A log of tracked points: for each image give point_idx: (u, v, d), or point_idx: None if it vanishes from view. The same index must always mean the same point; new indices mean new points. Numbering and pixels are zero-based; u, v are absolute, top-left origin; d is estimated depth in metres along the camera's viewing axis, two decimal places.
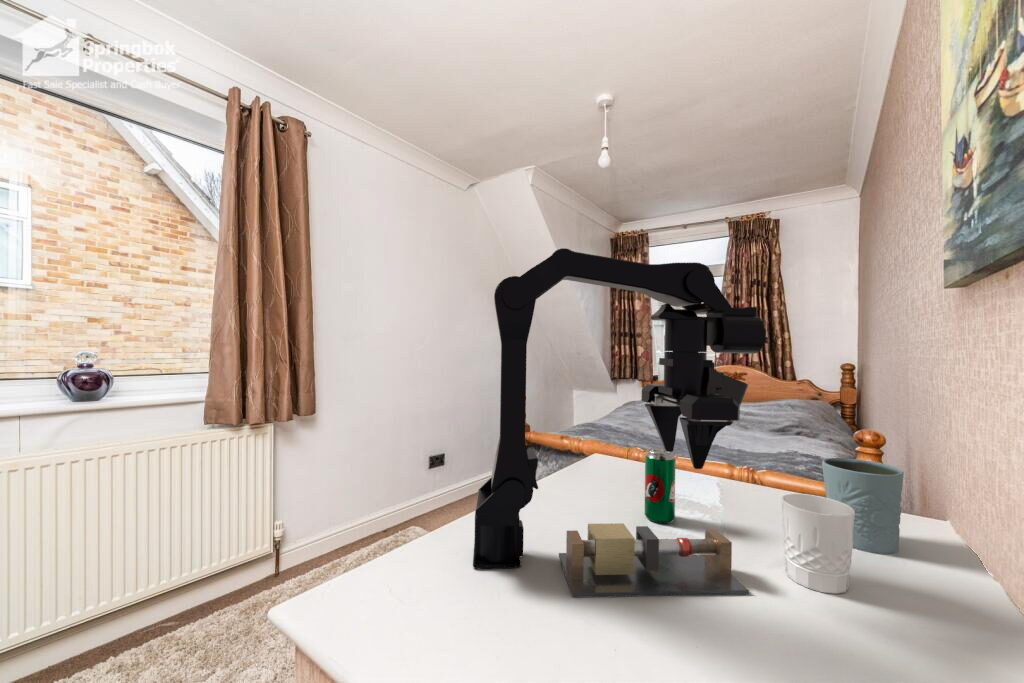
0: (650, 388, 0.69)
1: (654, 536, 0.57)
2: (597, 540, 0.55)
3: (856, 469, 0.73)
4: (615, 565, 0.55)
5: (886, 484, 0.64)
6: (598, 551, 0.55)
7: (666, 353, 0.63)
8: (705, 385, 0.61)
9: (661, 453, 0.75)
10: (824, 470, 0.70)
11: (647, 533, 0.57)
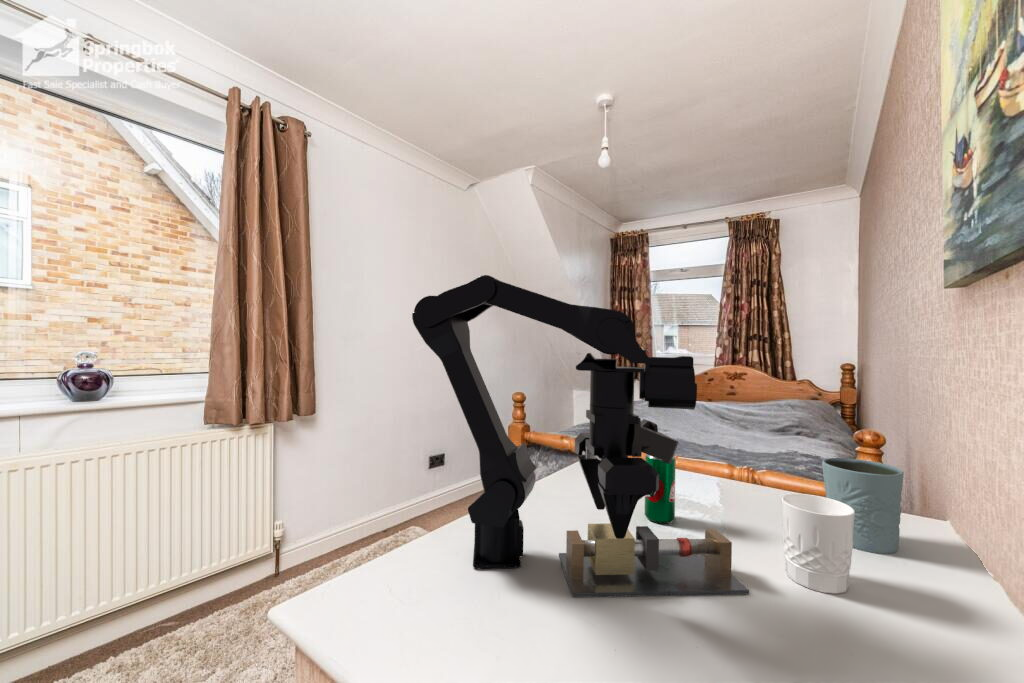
0: (581, 439, 0.64)
1: (654, 536, 0.57)
2: (597, 540, 0.55)
3: (856, 469, 0.73)
4: (615, 565, 0.55)
5: (886, 484, 0.64)
6: (598, 551, 0.55)
7: (590, 407, 0.57)
8: (631, 443, 0.56)
9: None
10: (824, 470, 0.70)
11: (647, 533, 0.57)
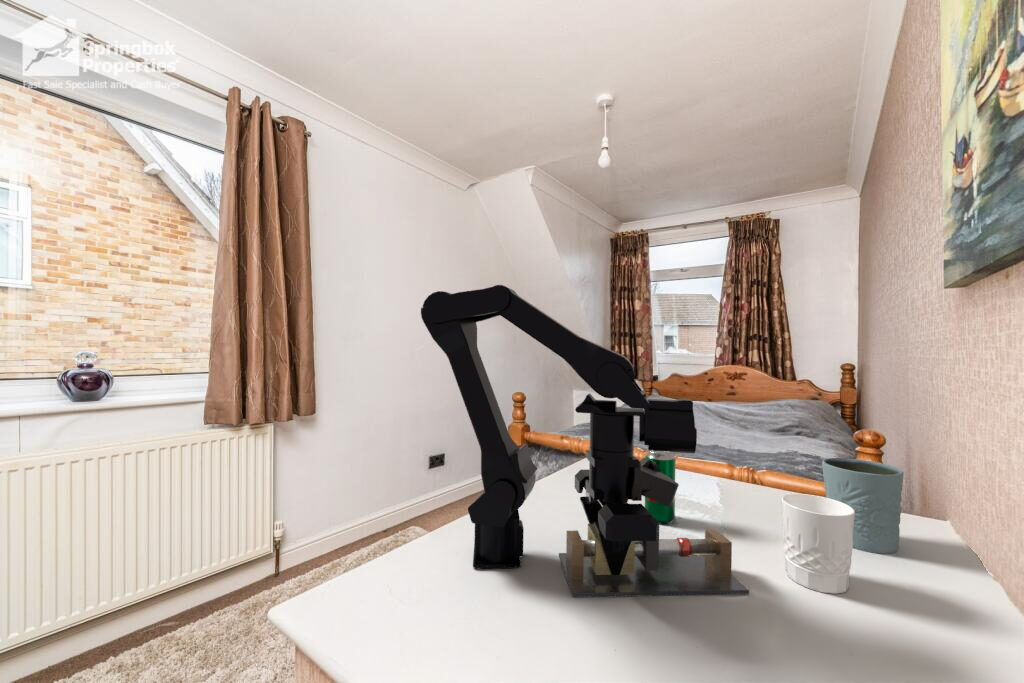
0: (581, 477, 0.63)
1: None
2: (597, 540, 0.55)
3: (856, 469, 0.73)
4: None
5: (886, 484, 0.64)
6: (598, 551, 0.55)
7: (590, 449, 0.57)
8: (631, 486, 0.56)
9: (661, 453, 0.75)
10: (824, 470, 0.70)
11: None
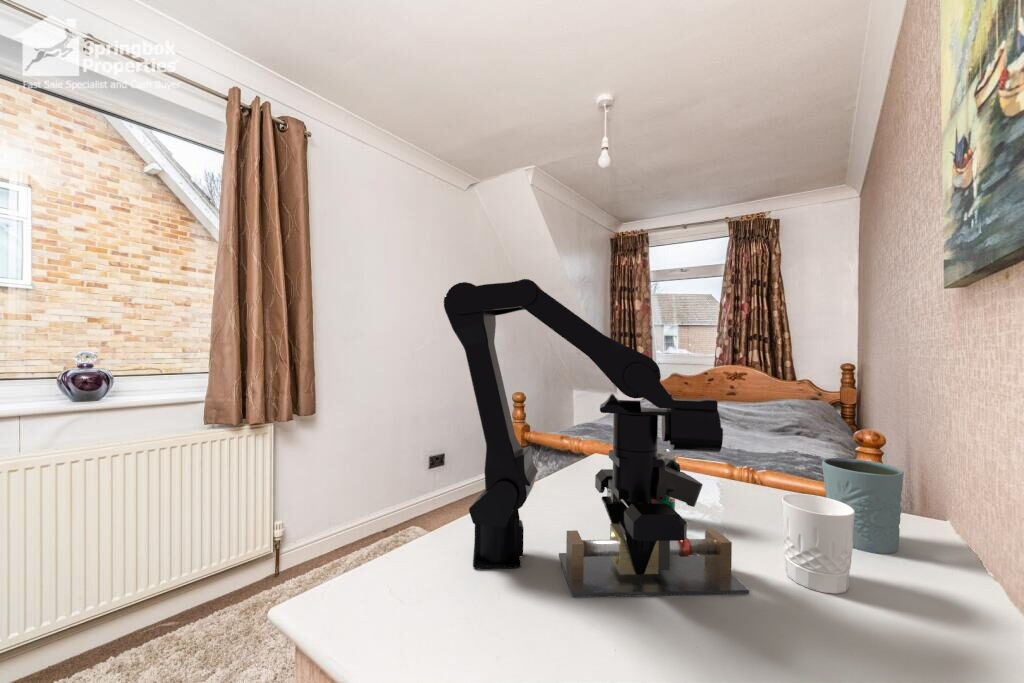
0: (603, 477, 0.64)
1: None
2: (621, 540, 0.55)
3: (856, 469, 0.73)
4: None
5: (886, 484, 0.64)
6: (622, 551, 0.55)
7: (614, 449, 0.57)
8: (655, 486, 0.56)
9: (661, 453, 0.75)
10: (824, 470, 0.70)
11: None
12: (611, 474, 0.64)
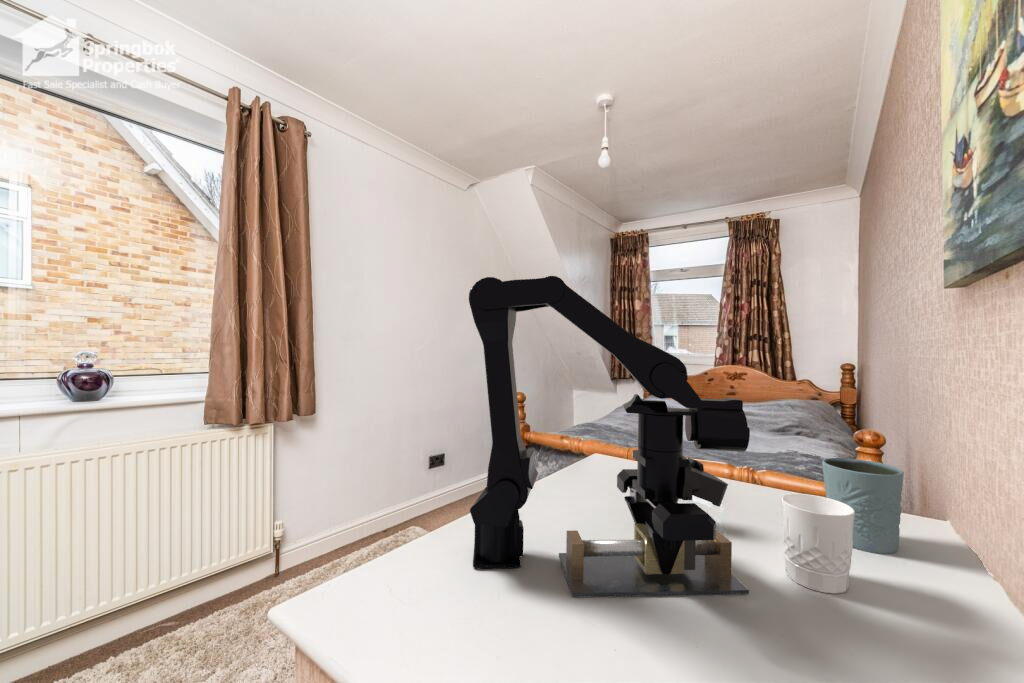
0: (625, 477, 0.64)
1: None
2: (647, 539, 0.55)
3: (856, 469, 0.73)
4: None
5: (886, 484, 0.64)
6: (648, 550, 0.55)
7: (639, 449, 0.58)
8: (681, 486, 0.56)
9: None
10: (824, 470, 0.70)
11: None
12: (634, 474, 0.64)
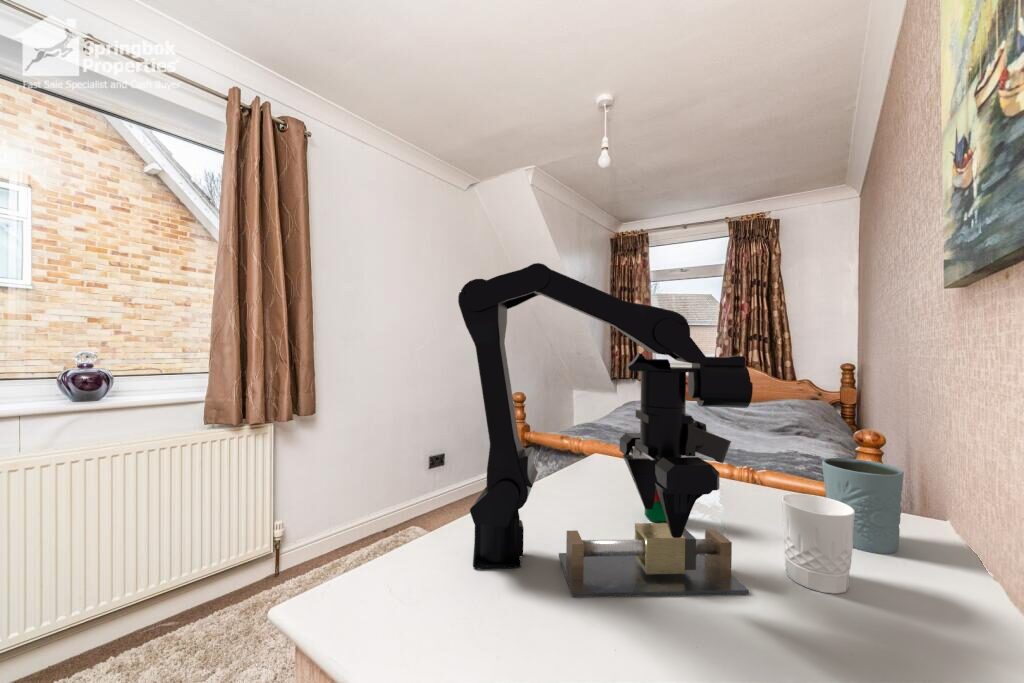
0: (628, 439, 0.64)
1: (691, 535, 0.57)
2: (648, 539, 0.55)
3: (856, 469, 0.73)
4: (666, 564, 0.56)
5: (886, 484, 0.64)
6: (649, 550, 0.55)
7: (642, 407, 0.58)
8: (684, 443, 0.56)
9: None
10: (824, 470, 0.70)
11: (683, 533, 0.58)
12: (636, 436, 0.64)
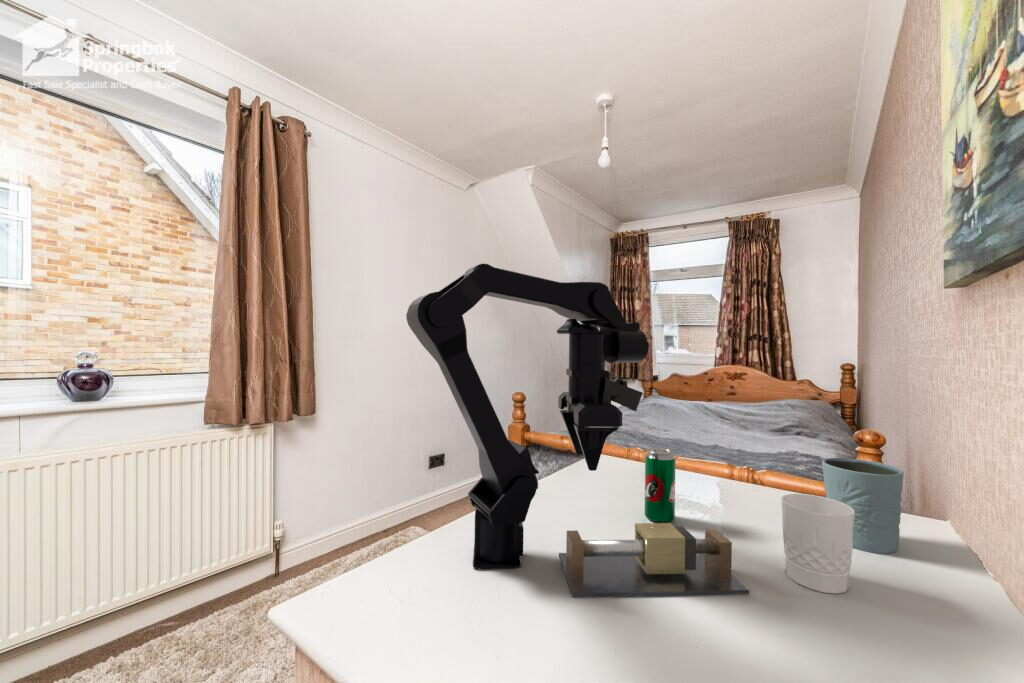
0: (563, 396, 0.74)
1: (691, 535, 0.57)
2: (648, 539, 0.55)
3: (856, 469, 0.73)
4: (666, 564, 0.56)
5: (886, 484, 0.64)
6: (649, 550, 0.55)
7: (569, 364, 0.68)
8: (602, 394, 0.66)
9: (661, 453, 0.75)
10: (824, 470, 0.70)
11: (683, 533, 0.58)
12: None
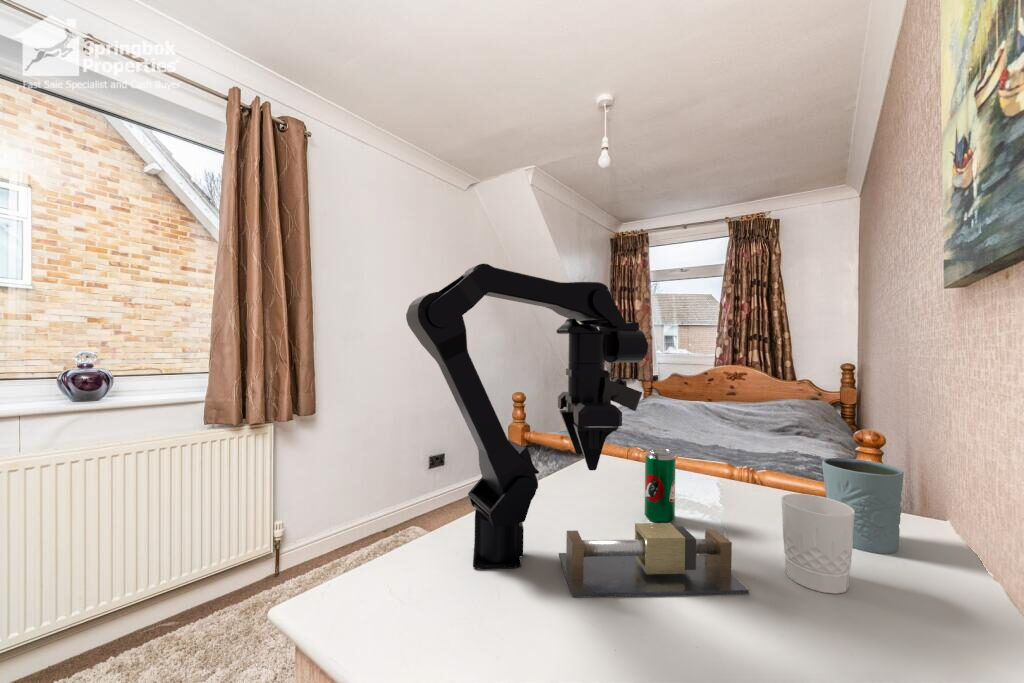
0: (563, 395, 0.74)
1: (691, 535, 0.57)
2: (648, 539, 0.55)
3: (856, 469, 0.73)
4: (666, 564, 0.56)
5: (886, 484, 0.64)
6: (649, 550, 0.55)
7: (568, 364, 0.68)
8: (602, 393, 0.67)
9: (661, 453, 0.75)
10: (824, 470, 0.70)
11: (683, 533, 0.58)
12: None
